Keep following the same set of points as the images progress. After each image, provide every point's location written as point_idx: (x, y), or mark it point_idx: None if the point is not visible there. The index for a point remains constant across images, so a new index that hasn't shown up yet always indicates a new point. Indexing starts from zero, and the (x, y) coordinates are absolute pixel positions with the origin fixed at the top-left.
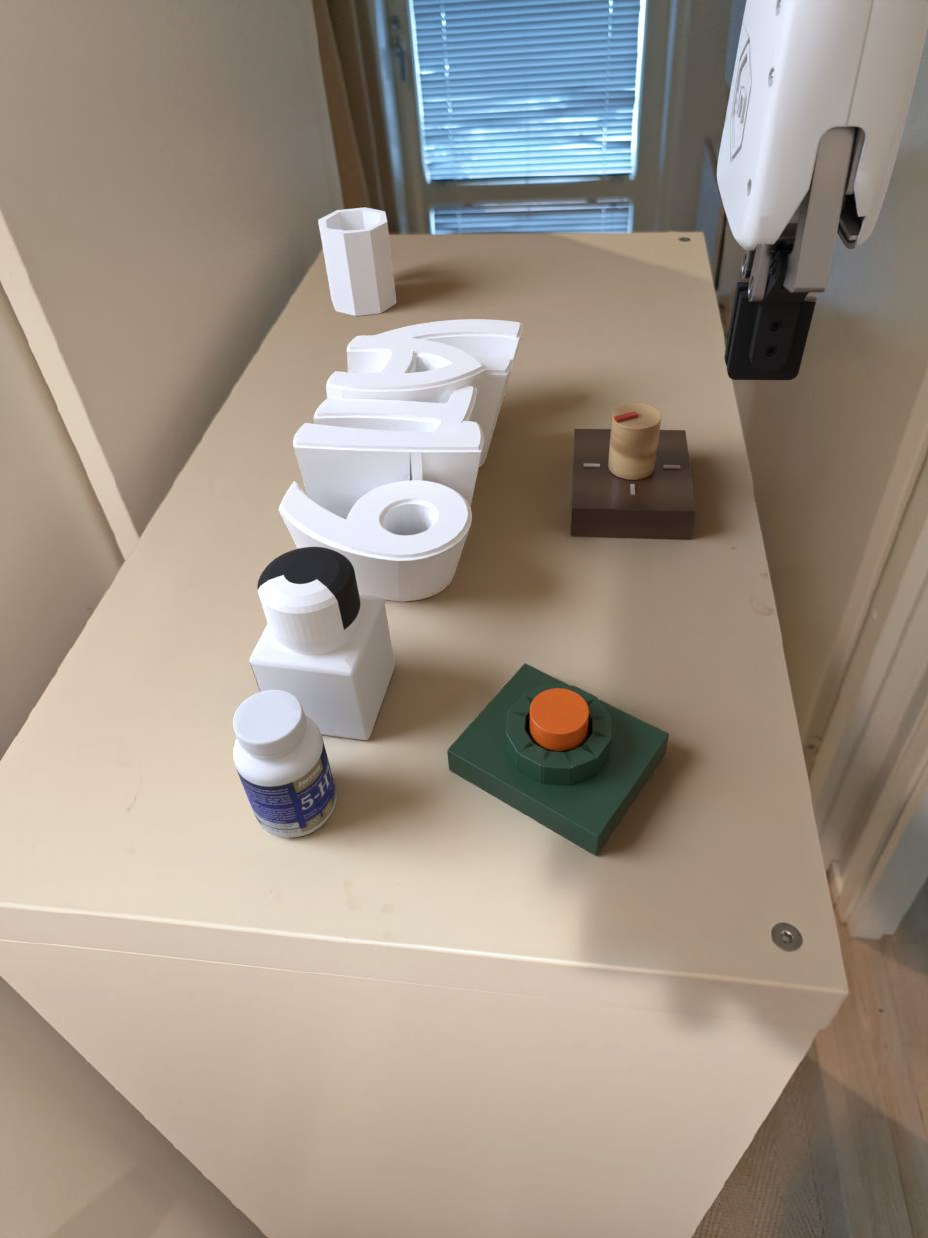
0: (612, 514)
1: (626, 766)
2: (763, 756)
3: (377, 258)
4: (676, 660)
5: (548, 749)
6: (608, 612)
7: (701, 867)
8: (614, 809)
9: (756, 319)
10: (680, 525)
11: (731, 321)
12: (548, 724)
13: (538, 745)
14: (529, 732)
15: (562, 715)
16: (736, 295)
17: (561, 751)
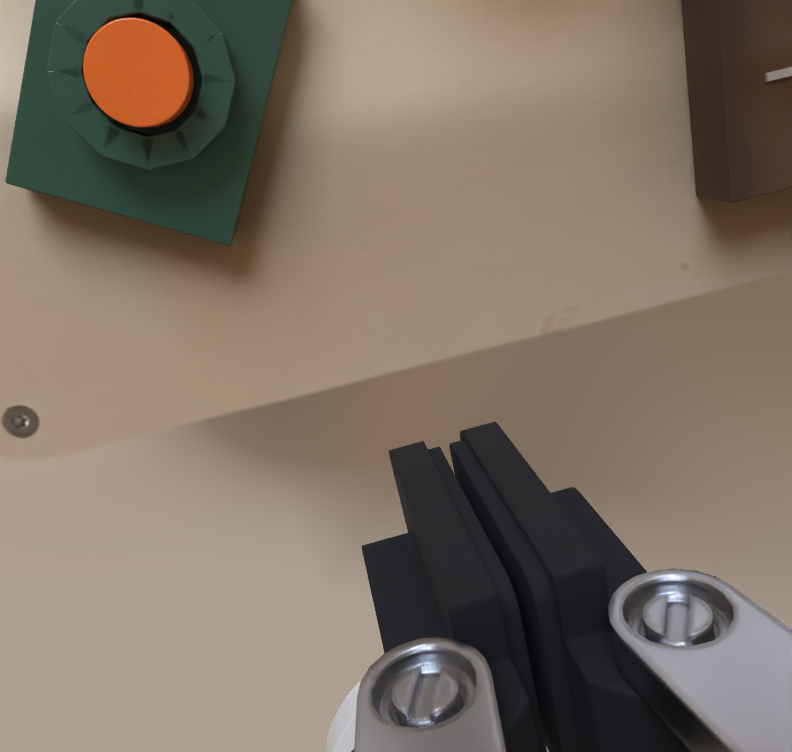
0: (713, 47)
1: (145, 196)
2: (276, 364)
3: None
4: (417, 221)
5: None
6: (496, 91)
7: (70, 316)
8: (62, 195)
9: (433, 615)
10: (710, 177)
11: (520, 488)
12: (99, 62)
13: None
14: None
15: (128, 81)
16: (547, 548)
17: None
